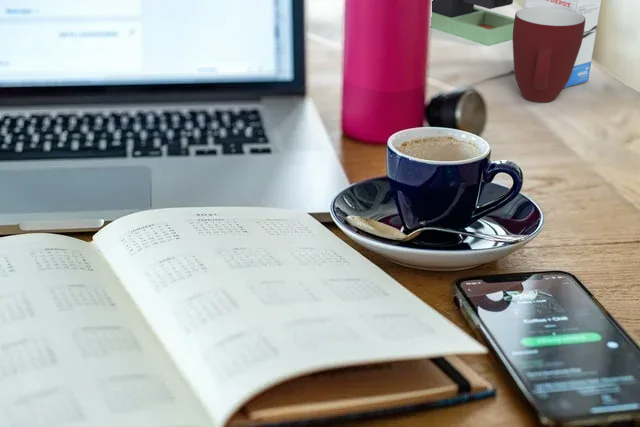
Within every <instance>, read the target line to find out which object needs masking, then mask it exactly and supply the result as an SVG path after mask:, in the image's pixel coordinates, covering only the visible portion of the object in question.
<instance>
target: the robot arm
mask: <svg viewBox="0 0 640 427" xmlns="http://www.w3.org/2000/svg"><path fill="white" fill-rule="evenodd" d="M512 3H514V0H495V5H496V6H497V8H502V7H506V6H510V5H512Z"/></svg>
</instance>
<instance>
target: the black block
mask: <svg viewBox="0 0 640 427" xmlns="http://www.w3.org/2000/svg"><path fill="white" fill-rule="evenodd" d="M474 7H475V5H474V4H470V3H467V2H463V0H433V1H432V12H434V13H437V14H440V15H443V16H447V17H450V18H453V17H457V16H461V15H465V14H469V13H473V10H474Z"/></svg>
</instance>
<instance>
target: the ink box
mask: <svg viewBox="0 0 640 427" xmlns="http://www.w3.org/2000/svg"><path fill="white" fill-rule="evenodd" d="M601 4H602V0H524V3H523V9H525V8H531V7H551V8H560V9H566V10H570V11H574V12H577V13H579V14H581V15H583V16H584V17H585V28H584V34H583V40H582V44H581V47H580V50H579V53H578V56H577V59H576V62H575V64H574V67H573V70H572V73H571V76H570V78H569V81H568V82H567V84H566V86H565V87H564V88H563V89H565V88H569V87H572V86H576V85H580V84H584V83H586V82H589V78H590V73H591V66H592V60H593V54H594V47H595V42H596V36H597V29H598V25H599V24H598V22H599V16H600V11H601Z"/></svg>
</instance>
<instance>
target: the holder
mask: <svg viewBox="0 0 640 427" xmlns="http://www.w3.org/2000/svg"><path fill="white" fill-rule="evenodd" d="M514 19H515V17H511V16H509V15H504V14H500V13H498V12H493V11H490V10H488V9H482V8H479V7H476V6H474V10H473V13H469V14H465V15H461V16H457V17H453V18H450V17H447V16H443V15H440V14H437V13H434V12H432V17H431V27H430V28H431V29H434V30H438V31H440V32H444V33H447V34H450V35H453V36H457V37H460V38H463V39H465V40H469V41H472V42H475V43H478V44H480V45H481V44H482V45H484V46H488V47H491V46H494V45H497V44H501V43H504V42H508V41H511V40H512V41H513V26H514Z"/></svg>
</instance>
